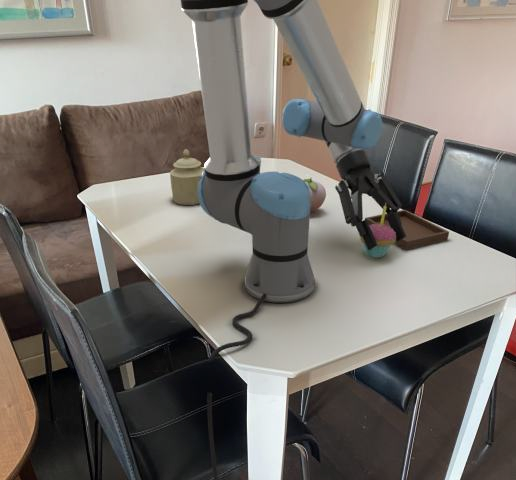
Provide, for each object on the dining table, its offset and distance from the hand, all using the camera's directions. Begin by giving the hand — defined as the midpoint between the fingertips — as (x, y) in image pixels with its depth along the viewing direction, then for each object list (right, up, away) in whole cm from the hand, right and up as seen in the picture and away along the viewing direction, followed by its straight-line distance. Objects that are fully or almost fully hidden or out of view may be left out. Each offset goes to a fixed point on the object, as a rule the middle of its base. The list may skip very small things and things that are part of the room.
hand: (387, 243), depth 118 cm
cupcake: (-2, -2, +5) cm, 5 cm away
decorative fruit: (-15, +15, +29) cm, 36 cm away
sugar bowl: (-50, +28, +34) cm, 67 cm away
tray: (+9, +6, +16) cm, 19 cm away
